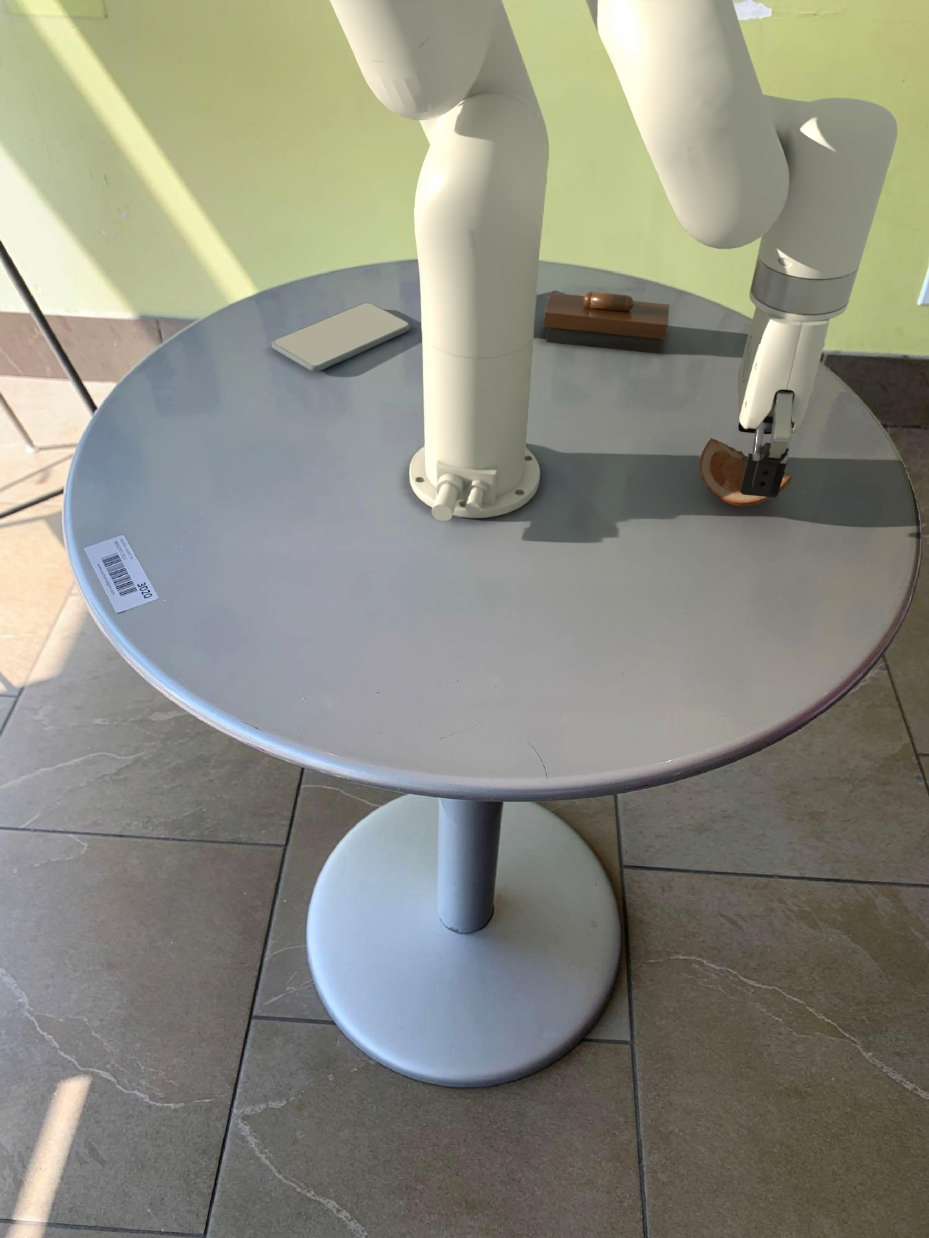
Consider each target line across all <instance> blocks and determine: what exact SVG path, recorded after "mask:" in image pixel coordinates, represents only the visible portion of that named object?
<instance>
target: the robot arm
mask: <svg viewBox="0 0 929 1238" xmlns="http://www.w3.org/2000/svg"><path fill="white" fill-rule="evenodd" d="M585 2H586V4H587V7H588V10H589V13H590V16H591V19H592V22H593V25H594V27H595V29H596V32H597V34H598V37H599V38H600V41H601V43H602V45H603V47H604V49H605V52H606V54H607V55H608V57H609V60H610V62H611V64H612V66H613V68H614V72H615V73H616V76H617V78H618V81H619V83H620V85H621V87H622V90H623V93H624V96H625V99H626V101H627V104H628V106H629V109H630V111H631V113H632V116H633V120H634V121H635V124H636V127H637V129H638V131H639V134H640V136H641V139H642V141H643V144H644V146H645V148H646V150H647V153H648V155H649V158H650V160H651V162H652V165H653V166H654V170H655V172H656V174H657V176H658V179H659V181H660V183H661V185H662V188H663V190H664V192H665V194H666V197H667V199H668V202H669V204H670V206H671V208H672V211H673V212H674V214H675V216H676V219H677V220H678V223H679V224H680V225H681V227H682V228H683V229H684V230H685V232H686V233H687V234H688V235H689V236H690V237H691V238H692V239H694V240H695V241H697V242H698V243H699V244H701V245H704V246H707V247H708V248H714V249H716V250H717V249H718V250H732V249H738V248H742V247H744V246H747V245H749V244H750V245H751V244H752V243H753V242H755V241H757V240H758V239H760V242H759V247H758V251H757V257H756V261H755V266H754V272H753V275H752V276H753V277H752V280H751V285H750V289H749V292H748V293H749V300H750V301H751V303H752V304H753V305H754V306H755V309H754V311H753V316H752V319H751V324H750V327H749V331H748V336H747V338H746V342H745V347H744V351H743V355H742V358H741V361H740V366H739V370H738V377H737V401H738V402H737V403H738V418H739V419H738V426H737V427H738V428H737V430H738V431H739V432H740V433H748V434H754V440H753V448H752V453H749V452H748V454H747V457H748V458H747V462H746V466H745V470H744V474H743V478H742V483H741V487H740V492H741V494H743V495H752V496H762V497H772V498H771V499H773V498H777V497H778V495H779V494H778V493H779V489H780V486H781V482H782V479H783V475H784V472H786V468H787V464H788V461H789V453H790V445H791V437H792V434H794V433H796V432H797V431H798V430H799V429H800V428H801V426H802V424H803V422H804V419H805V416H806V412H807V410H808V406H809V403H810V399H811V395H812V392H813V389H814V385H815V380H816V376H817V373H818V370H819V366H820V363H821V358H822V353H823V351H824V350H823V349H824V347H825V345H826V344H825V341H826V337H827V334H828V328H829V325H830V321H831V320H832V319H834V318H837V317H839V316H841V315H842V314H843V313H845V311H846V310H847V309H848V305H849V302H850V298H851V295H852V293H853V288H854V285H855V282H856V279H857V275H858V272H859V268H860V265H861V261H862V258H863V254H864V252H865V248H866V244H867V242H868V238H869V236H870V235H869V234H870V232H871V228H872V224H873V222H874V217H875V214H876V211H877V207H878V204H879V200H880V198H881V194H882V192H883V187H884V184H885V181H886V177H887V174H888V170H889V167H890V164H891V161H892V157H893V155H894V154H893V153H894V150H895V146H896V142H897V138H898V123H897V120H896V117H895V115H894V114H893V113H891V111H890V110H888V109H887V108H885V107H884V106H882V105H879V104H877V103H874V102H871V101H868V100H863V99H858V98H849V97H828V98H827V97H826V98H820V99H815V100H811V101H806V100H799V99H798V100H797V99H791V98H785V97H780V96H779V97H778V96H774V95H769V94H764V93H763V91H762V87H761V84H760V81H759V79H758V76H757V73H756V70H755V67H754V64H753V61H752V58H751V55H750V52H749V48H748V46H747V42H746V40H745V37H744V33H743V31H742V27H741V24H740V21H739V18H738V15H737V11H736V8H735V4H734V0H585ZM329 3H330V5H331V6H332V9H333V11H334V13H335V16H336V18H337V20H338V22H339V24H340V26H341V29H342V31H343V34H344V35H345V37H346V40H347V42H348V44H349V46H350V48H351V51H352V54H353V55H354V58H355V61H356V62H357V65H358V67H359V69H360V72H361V74H362V77H363V78H364V80H365V82H366V84H367V85H368V87H369V88H370V90H371V91H372V93H373V94H374V96H375V97H376V98H377V100H378V101H379V102H380V103H381V104H382V105H384V106H385V107H386V109H388V110H389V111H391V112H392V113H393V114H396V115H397V116H400V117H401V118H405V119H407V120H412V121H419V123H420V125H421V128H422V130H423V132H424V134H425V137H426V139H427V142H428V144H429V147H428V150H427V152H426V155H425V157H424V160H423V163H422V166H421V169H420V172H419V175H418V180H417V184H416V188H415V197H414V210H413V212H414V213H413V215H414V216H413V217H414V218H413V221H414V222H413V224H414V225H413V226H414V236H415V237H414V238H415V245H416V254H417V263H418V264H417V265H418V271H419V274H418V275H419V288H420V289H419V290H420V315H421V316H420V317H421V319H420V321H421V322H420V323H421V342H422V344H421V345H422V346H421V347H422V381H423V382H422V383H423V385H422V386H423V387H422V389H423V426H424V428H423V429H424V431H423V432H424V445H423V446H422V447H421V448H420V449H419V450H418V451H417V452H416V453H415V454H414V456H413V457H412V459H411V461H410V464H409V471H408V472H409V473H408V475H409V484H410V486H411V489H412V491H413V492H414V495H416V496H417V498H418V499H419V500H420V501H422V502H423V503H424V504H425V505H426V506H428V507H430V508H431V516H432V517H433V519H436V520H437V521H440V522H449V521H450V520H451V519H452V518H453V517H459V518H466V519H487V518H492V517H499V516H502V515H505V514H509V513H511V512H513V511H516V510H517V509H519V508H521V507H523V506H524V505H526V504H527V503H528V502H530V500H531V499H532V498H533V497H535V494H536V492H537V491H538V489H539V486H540V479H541V478H540V477H541V468H540V465H539V462H538V460H537V459H536V457H535V455H534V454H533V453H532V452H531V451H530V450H529V449H528V448H527V446H526V445H527V434H528V433H527V432H528V421H529V420H528V419H529V405H530V394H531V392H530V391H531V381H532V380H531V378H532V365H533V351H534V350H533V349H534V335H535V324H536V323H535V322H536V321H535V320H536V307H537V293H538V278H539V265H540V252H541V242H542V235H543V225H544V224H543V223H544V212H545V201H546V191H547V184H548V183H547V182H548V169H549V161H550V143H549V135H548V129H547V125H546V123H545V122H546V121H545V119H544V115H543V113H542V109H541V107H540V104H539V101H538V98H537V95H536V92H535V89H534V87H533V84H532V81H531V79H530V76H529V73H528V70H527V67H526V65H525V62H524V59H523V56H522V53H521V50H520V48H519V44H518V42H517V40H516V37H515V33H514V31H513V28H512V25H511V22H510V19H509V17H508V13H507V11H506V7H505V6H504V3H503V0H329ZM764 435H770V438H769V442H764V444H763V440H764Z"/></svg>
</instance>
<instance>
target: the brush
mask: <svg viewBox="0 0 929 1238" xmlns="http://www.w3.org/2000/svg"><path fill="white" fill-rule="evenodd" d="M669 314H670V304H667V303H658V302H657V303H656V302H648V301H639V300H638V301H637V300H634V299H633V297H632V296H630V295H628V294H620V293H619V294H618V293H608V292H600V291H599V292H598V291H587V293H585V294H584V295H579V294H568V293H558V292H556V293H555V292H549V296H548V298H547V302H546V306H545V310H544V314H543V315H544V316H543V327H544V328H546V337H545V342H547V343H555V344H565V345H573V346H574V345H576V346H583V347H593V348H602V349H613V350H620V351H621V350H622V351H630V352H631V351H632V352H641V353H650V354H660V350H661V344H662V340H666V337H667V332H668V327H669Z"/></svg>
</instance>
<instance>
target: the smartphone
mask: <svg viewBox="0 0 929 1238" xmlns="http://www.w3.org/2000/svg"><path fill="white" fill-rule="evenodd" d="M410 330H411V324H410V323H409V322H408V321H407V320H404V319H402V318H400V317H399V316H397V315H394V314H393V313H391V312H389V311H386V310H385V309H383V308H381V307H379V306H377V305H376V304H373V303H371V302H362V303H359V304H357V305H355V306H352V307H350V308H347V309H344V310H343V311H340V312H337V313H335V314H333V315H329V316H328V317H325V318H323V319H321V320H318V321H316V322H313V323H310V324H308V325H306V326H304V327H302V328H299V329H296V330H294V331H292V332H289V333H287V334H284V335H282V336H279V337H277V338H275V339H273V340H272V341H271V348H272V349H274V350H275V351H277V352H278V353H280V354H282V355H284V356H285V357H287V358H289V359H290V360H292V361H294V362H295V363H297V364H299V365H300V366H302V367H304V368H305V369H307V370H308V371H310V372H313V373H314V372H315V373H316V372H317V373H318V372H320V371H323V370H325V369H328V368H330V367H331V366H334V365H337V364H339V363H341V362H342V361H346V360H347V359H350V358H352V357H354V356H356V355H359V354H361V353H363V352H365V351H368V350H371V349H373V348H374V347H376V346H379V345H380V344H384V343H386V342H387V341H389V340H391V339H394V338H396V337H399V336H401V335H403V334H405V333H407V332H409V331H410Z"/></svg>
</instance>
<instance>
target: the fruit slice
mask: <svg viewBox="0 0 929 1238" xmlns="http://www.w3.org/2000/svg"><path fill="white" fill-rule="evenodd" d="M747 458H748V455H745V453H743V451H742V450H737V449H736V448H734V447H732V446H729V445H728V444H726V443H724V442H722V441H719V440H718V439H715V438H713V437H711V438H710V439H709V440H708V442H707V443H706V444H705V446H704V448H703V450H702V451H701V455H700V457H699V474H700V477H701V480H702V482H703V483H704V485H705V487H706V488H707V489H708V491H710V493H711V494H712V495H713V496H714V497H715V498H716V499H718V500H720V501H721V502H723V503H725V504H728V505H732V506H736V507H751V506H756V505H758V504H761V503H763V502H766V501H769V500H771V499H773V498H772V497H762V496H752V495H743V494H741V492H740V487H741V483H742V478H743V474H744V470H745V466H746V462H747ZM792 479H793V477H792V474H790V473H788V472H786V471H785V472H784V475H783V479H782V482H781V486H780V489H779V493H778V495H780V494H781V493H782V492H783V490H788V489H789V484H790V483H791V481H792Z"/></svg>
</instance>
